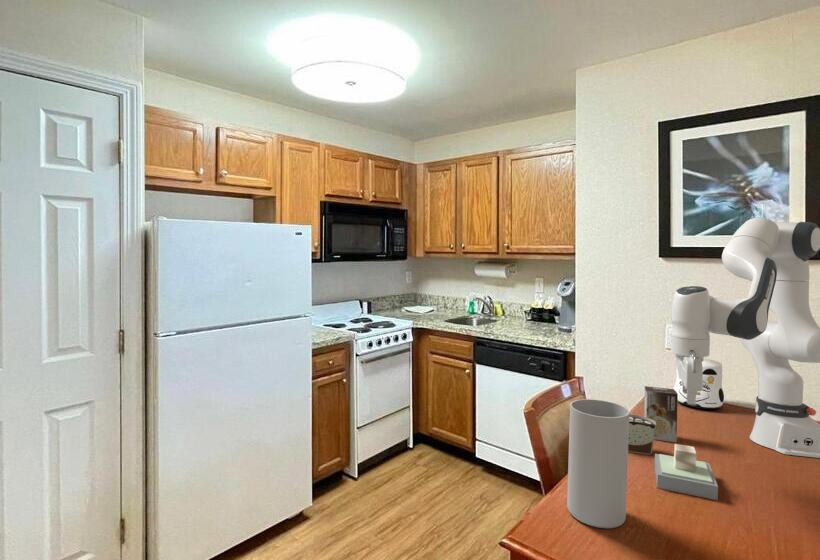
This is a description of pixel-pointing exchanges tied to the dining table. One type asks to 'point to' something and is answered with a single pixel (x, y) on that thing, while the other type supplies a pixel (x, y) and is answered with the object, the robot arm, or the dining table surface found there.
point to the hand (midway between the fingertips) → (688, 398)
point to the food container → (641, 434)
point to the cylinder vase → (598, 462)
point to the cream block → (684, 457)
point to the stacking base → (685, 478)
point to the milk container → (705, 387)
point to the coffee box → (662, 411)
